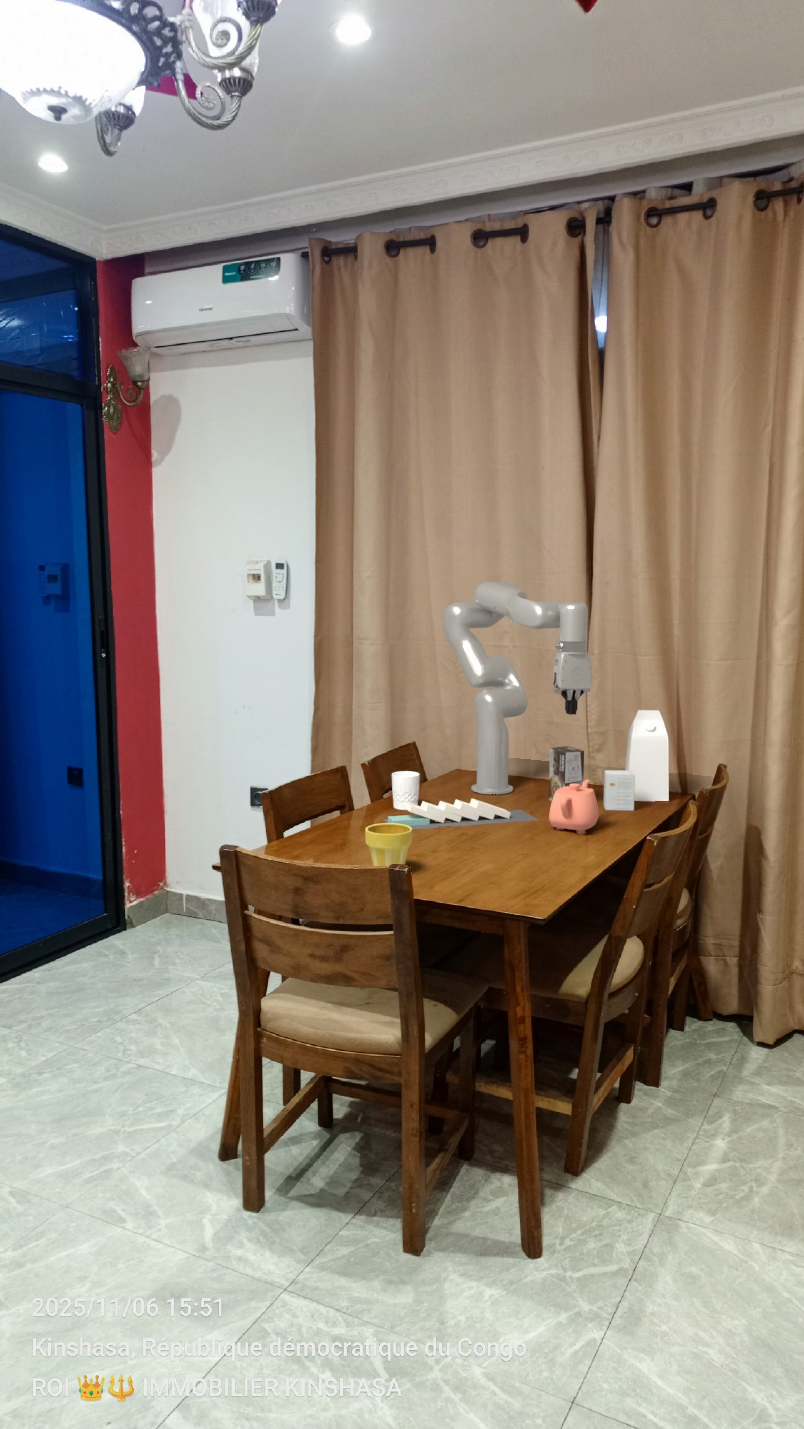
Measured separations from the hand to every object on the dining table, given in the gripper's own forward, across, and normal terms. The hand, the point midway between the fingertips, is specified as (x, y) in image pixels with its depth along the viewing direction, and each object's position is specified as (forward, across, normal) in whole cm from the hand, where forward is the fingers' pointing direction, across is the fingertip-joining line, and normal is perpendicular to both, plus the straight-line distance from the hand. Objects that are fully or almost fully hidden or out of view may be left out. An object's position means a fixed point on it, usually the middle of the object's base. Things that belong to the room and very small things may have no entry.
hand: (571, 713), depth 267 cm
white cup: (+27, -44, +13) cm, 53 cm away
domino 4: (+26, -30, -5) cm, 40 cm away
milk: (+27, +29, +8) cm, 41 cm away
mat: (+27, -34, -5) cm, 44 cm away
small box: (+27, +14, -3) cm, 31 cm away
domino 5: (+26, -25, -5) cm, 37 cm away
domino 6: (+26, -21, -5) cm, 34 cm away
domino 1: (+26, -44, -5) cm, 51 cm away
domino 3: (+26, -35, -5) cm, 44 cm away
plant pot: (+27, -64, -42) cm, 81 cm away
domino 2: (+26, -39, -5) cm, 47 cm away
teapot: (+27, -8, -20) cm, 35 cm away
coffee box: (+27, +2, +6) cm, 28 cm away
